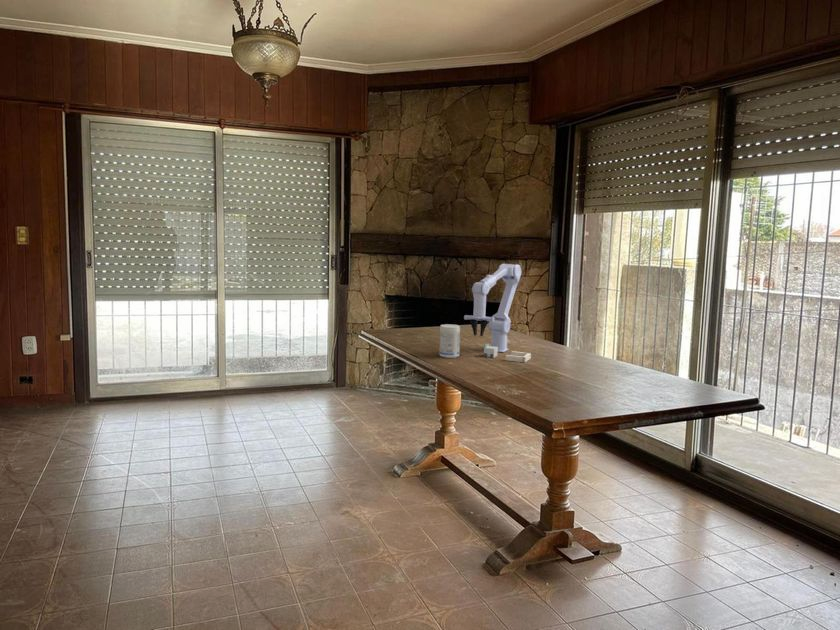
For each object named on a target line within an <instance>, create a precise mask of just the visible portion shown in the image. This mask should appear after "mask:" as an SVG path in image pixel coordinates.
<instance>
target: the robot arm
mask: <svg viewBox="0 0 840 630" xmlns="http://www.w3.org/2000/svg"><path fill="white" fill-rule="evenodd" d="M521 276H522V268H521V266H520V264H513V263H512V264H511V263H509V264H508V263H502V264H500V265H498V269H497V270H496V271H495V272H494V273H492V274H486V277H484V278H483V279H481V280H480V281H478V282H477V281H476V282H475V283H473V285H472V287H471V293H472V296H473V313H472V314H473V315H472V314H471V315H470V314H469V315H468V314H465V315H464V316H463V319H464V320H468V321H469V323H470V326H471V328H472V331H473V332H472V333H473V336H477V334H478V322H479V321H480V322H479V323H480V333H479V335H480V337H483V336H484V333H485V330H486V327H487V325H488V329H489V331H490V334H491V343H490V346H494V347H498V353H505V352H506V351H509V348H508V336H507V335H508V333H509V332H510V330H511V323H512V320H511V318H510V317H509V312H510V309H511V306H512V303H513V300H514V296H515V293H516V290H517V287H518V283H519V282H520V279H521ZM501 278H502V280H503V282H504V283H505V287H504V291H503V294H502V297H501V300H500V303H499V307H498V310H497V312H496V313H495V314H493V315H492V316H486V309H487V308H486V307H487V295H488V294H489V292H490V290H491V289H492V288H493V287H494V286H495V285H497V281H499V280H500V279H501Z"/></svg>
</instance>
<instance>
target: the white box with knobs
mask: <svg viewBox="0 0 840 630" xmlns="http://www.w3.org/2000/svg"><path fill="white" fill-rule="evenodd" d="M483 346H484V347H483V355H482V356H483V357H484V358H492V359H494V358H496V357H498V354H499V352H498V347H494V346H491V345H490V344H489V343H486V344H484V345H483Z"/></svg>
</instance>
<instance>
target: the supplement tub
mask: <svg viewBox="0 0 840 630" xmlns="http://www.w3.org/2000/svg"><path fill="white" fill-rule="evenodd" d="M460 341H461V326H460V324H459V325H458V324H453V323H452V324H450V323H449V324H448V323H445V324H440V327H439V353H438V355H439V356H440V357H441V358H446V359H454V358H458V357H459V356H460V347H461V346H460V344H461V342H460Z"/></svg>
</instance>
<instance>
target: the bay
mask: <svg viewBox="0 0 840 630" xmlns="http://www.w3.org/2000/svg"><path fill="white" fill-rule="evenodd" d="M531 358H532V353H531V352H521V351H513V350H512V351H511V354H506V355H505V361H508V362H518V363H527V362H528V361H529V360H531Z"/></svg>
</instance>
